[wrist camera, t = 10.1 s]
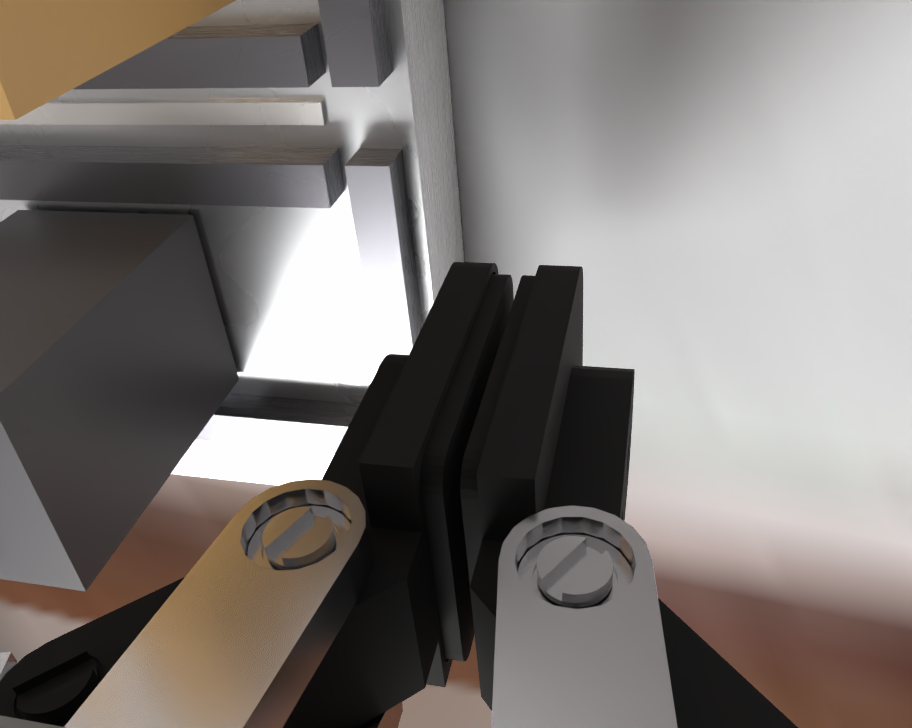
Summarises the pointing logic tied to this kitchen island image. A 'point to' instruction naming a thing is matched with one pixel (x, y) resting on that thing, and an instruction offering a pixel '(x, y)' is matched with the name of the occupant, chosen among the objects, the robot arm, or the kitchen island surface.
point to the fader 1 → (79, 42)
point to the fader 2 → (98, 380)
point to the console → (275, 199)
